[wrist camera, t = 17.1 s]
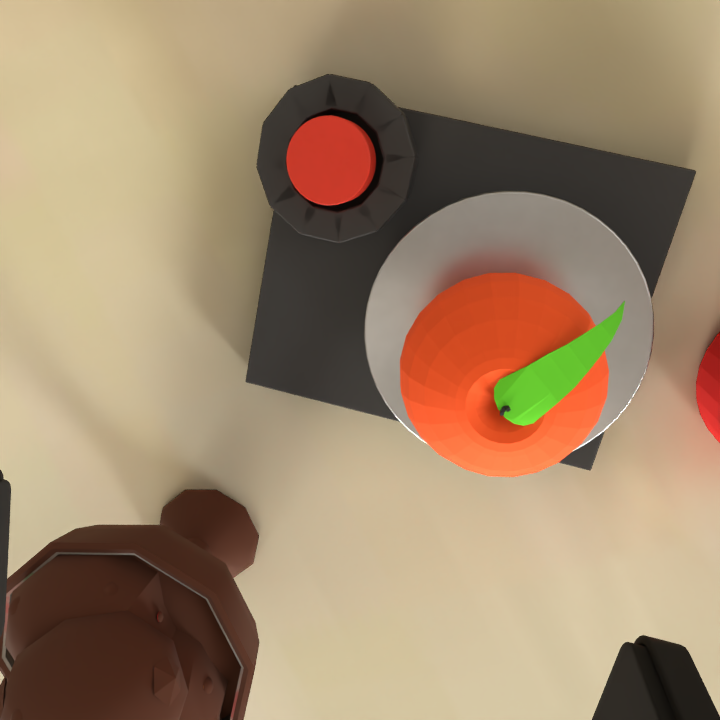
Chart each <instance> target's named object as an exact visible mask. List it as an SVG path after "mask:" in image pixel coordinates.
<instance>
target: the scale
mask: <svg viewBox="0 0 720 720" xmlns="http://www.w3.org/2000/svg"><path fill="white" fill-rule="evenodd" d="M325 115H331V116H337V117H341V118H344V119H346V120H349V121H351V122H353V123H355V124H357V125H358V126H360V127H361V128H362V129H363V130H364V131H365V132H366V133H367V135H368V136H369V138H370V139H371V141H372V143H373V146H374V149H375V153H376V169H375V173H374V176H373V179H372V181H371V183H370V185H369V186H368V188H367V189H366V190H365V191H364V192H363V193H362V194H361V195H360V196H358V197H357V198H355V199H353V200H351V201H348V202H345V203H342V204H338V205H320V204H317V203H314V202H312V201H310V200H308V199H307V198H305V197H304V196H303V195H301V194H300V193H299V191H298V190H297V189H296V188H295V186H294V185H293V183H292V181H291V179H290V177H289V174H288V170H287V162H286V157H287V150H288V146H289V143H290V141H291V139H292V137H293V135H294V134H295V132H296V131H297V130H298V129H299V128H300V127H301V126H302V125H303V124H304V123H306V122H307V121H309V120H311V119H313V118H316V117H319V116H325ZM263 123H264V124H263V126H262V133H261V139H260V146H259V152H258V159H257V170H258V173H259V176H260V179H261V181H262V184H263V187H264V190H265V193H266V196H267V199H268V202H269V205H270V206H271V208H272V209H273V210H274V211H273V218H272V224H271V230H270V236H269V242H268V248H267V254H266V260H265V266H264V272H263V278H262V285H261V291H260V297H259V303H258V309H257V315H256V321H255V327H254V333H253V339H252V345H251V352H250V358H249V364H248V370H247V376H246V382H247V383H251V384H255V385H259V386H263V387H267V388H270V389H274V390H278V391H282V392H286V393H290V394H294V395H298V396H302V397H306V398H309V399H313V400H317V401H321V402H325V403H329V404H333V405H337V406H341V407H344V408H348V409H352V410H356V411H360V412H364V413H368V414H372V415H376V416H379V417H383V418H387V419H391V420H395V421H399V420H398V419H397V418H396V417H395V415H394V414H393V413H392V411H391V410H390V409H389V407H388V406H387V405H386V403H385V401H384V400H383V398H382V396H381V394H380V393H379V391H378V389H377V387H376V384H375V382H374V379H373V377H372V374H371V372H370V368H369V364H368V360H367V356H366V348H365V340H364V328H365V315H366V308H367V303H368V299H369V296H370V292H371V289H372V286H373V283H374V281H375V279H376V277H377V274H378V272H379V270H380V268H381V267H382V265H383V263H384V262H385V260H386V258H387V257H388V255H389V254H390V252H391V251H392V250H393V249H394V247H395V246H396V245H397V244H398V242H399V241H400V240H401V239H402V238H403V237H404V236H405V235H406V234H407V233H408V232H409V231H410V230H411V229H412V228H413V227H414V226H415V225H416V224H418V223H419V222H420V221H422V220H423V219H425V218H426V217H427V216H429V215H430V214H432V213H433V212H435V211H437V210H439V209H441V208H442V207H444V206H446V205H448V204H450V203H453V202H455V201H458V200H461V199H463V198H466V197H470V196H474V195H478V194H482V193H487V192H496V191H528V192H534V193H541V194H545V195H549V196H552V197H556V198H559V199H562V200H565V201H567V202H569V203H572V204H574V205H576V206H578V207H581V208H583V209H584V210H586V211H587V212H589V213H591V214H592V215H594V216H595V217H597V218H599V219H600V220H601V221H602V222H603V223H605V224H606V225H607V226H608V227H609V228H611V229H612V230H613V231H614V232H615V233H616V234H617V235H618V236H619V238H620V239H621V240H622V241H623V242H624V243H625V244H626V245H627V247H628V248H629V250H630V251H631V253H632V254H633V256H634V257H635V259H636V260H637V262H638V264H639V266H640V268H641V271H642V273H643V275H644V277H645V279H646V282H647V286H648V289H649V292H650V296H651V298H652V295H653V293H654V290H655V287H656V284H657V281H658V278H659V276H660V273H661V270H662V267H663V264H664V261H665V259H666V256H667V253H668V250H669V247H670V244H671V242H672V239H673V236H674V233H675V230H676V227H677V225H678V222H679V219H680V216H681V213H682V210H683V208H684V205H685V202H686V199H687V196H688V193H689V191H690V188H691V185H692V182H693V179H694V176H695V174H696V171H695V170H691V169H686V168H681V167H677V166H672V165H667V164H663V163H658V162H653V161H649V160H644V159H639V158H634V157H630V156H625V155H620V154H616V153H611V152H606V151H602V150H597V149H592V148H588V147H583V146H578V145H574V144H569V143H564V142H559V141H555V140H550V139H545V138H541V137H536V136H531V135H527V134H522V133H517V132H513V131H508V130H503V129H499V128H494V127H489V126H484V125H480V124H475V123H470V122H466V121H461V120H456V119H452V118H447V117H442V116H438V115H433V114H428V113H423V112H419V111H414V110H409V109H405V108H400V107H397V106H396V105H395V104H394V103H393V102H392V101H391V100H390V99H389V98H387V97H386V96H385V95H384V94H383V93H382V92H381V91H380V90H379V89H378V88H377V87H376V86H375V85H373V84H371V83H370V82H366V81H361V80H357V79H352V78H347V77H342V76H338V75H333V74H330V75H329V74H327V75H324V76H321V77H319V78H316V79H314V80H311V81H308V82H306V83H303V84H301V85H298V86H297V85H295V86H294V87H293V88H290V90H288V91H287V92H286V94H285V95H284V96H283V98H282V99H281V100H280V101H279V103H278V104H277V105H276V107H275V108H274V109H273V110H272V112H271V113H270V114H269V116H268V117H267V118H266V120H265V121H264V122H263ZM399 422H400V421H399ZM603 434H604V431H603V432H602V433H601V434H599V435H598V436H597V437H595V438H594V439H593V440H591V441H590V442H588V443H587V444H585V445H583V446H581V447H580V448H578V449H576V450H574V451H572V452H571V453H570V454H568V455H567V456H566V457H565V458H563V459H562V460H561V461H560V462H559V463H562V464H566V465H570V466H574V467H578V468H582V469H586V470H591V468H592V465H593V462H594V460H595V457H596V454H597V451H598V448H599V445H600V443H601V440H602V437H603Z"/></svg>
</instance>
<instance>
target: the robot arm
mask: <svg viewBox="0 0 720 720" xmlns="http://www.w3.org/2000/svg"><path fill="white" fill-rule="evenodd" d="M10 500H11V486H10V483H9V482H8V481H7V480H4V479H3V474H2V472H1V470H0V637H1V635H2V632H3V629H4V625H5V612H6V590H7V567H8V545H9V523H10ZM592 720H720V716H719V714H718V712H717V710H716V708H715V706H714V704H713V702H712V700H711V697H710V695H709V693H708V691H707V689H706V687H705V685H704V683H703V681H702V679H701V677H700V675H699V672H698V670H697V668H696V666H695V664H694V662H693V660H692V658H691V656H690V654H689V652H688V651H687V649H686V648H685V647H684V646H682V645H679V644H675V643H671V642H668V641H664V640H660V639H656V638H652V637H648V636H644V635H643V636H639V637H638V638H637V639H636V641H635V643H634V644H633V643H629V642H626V643H624V644H623V645H622V647H621V649H620V651H619V653H618V656H617V658H616V661H615V663H614V666H613V668H612V671H611V673H610V676H609V678H608V681H607V683H606V686H605V688H604V691H603V693H602V696H601V698H600V701H599V703H598V706H597V708H596V711H595V713H594V716H593V718H592Z"/></svg>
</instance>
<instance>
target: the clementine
mask: <svg viewBox="0 0 720 720" xmlns="http://www.w3.org/2000/svg"><path fill="white" fill-rule="evenodd" d="M624 305H625V301H624V302H623V303H622V304H621V305H620V307H619V308H618V309H617V310H616V311H615V312H614V313H613V314H612V315H610V316H609V317H608V318H606V319H605V320H604V321H602V322H601V323H600V324H598V325H597V326H596V325H595V324H594V322H593V320H592V318H591V316H590V315H589V313H588V312H587V311H586V310H585V309H584V308H583V307H582V306H581V305H580V304H579V303H578V302H577V301H576V300H575V299H574V298H573V297H572V296H571V295H570V294H569V293H567V292H565V291H563V290H562V289H560V288H558V287H556V286H554V285H553V284H551V283H549V282H547V281H546V280H542V279H538V278H534V277H530V276H527V275H523V274H519V273H487V274H483V275H479V276H475V277H472V278H468V279H464V280H462V281H461V282H459V283H457V284H455V285H454V286H452V287H450V288H448V289H446V290H445V291H443V292H441V293H440V294H438V295H437V296H436V297H435V298H434V299H433V300H432V301H431V302H430V303H429V304H428V305H427V306H426V307H425V308H424V309H423V310H422V311H421V312H420V313H419V315H418V316H417V318H416V320H415V321H414V323H413V325H412V327H411V328H410V330H409V332H408V333H407V335H406V338H405V342H404V346H403V350H402V354H401V357H400V388H401V394H402V398H403V401H404V404H405V408H406V411H407V415H408V417H409V419H410V420H411V422H412V424H413V425H414V427H415V428H416V430H417V432H418V433H419V435H420V437H421V438H422V439H423V440H424V441H425V442H426V443H427V444H428V445H430V446H431V447H432V448H433V449H434V450H435V451H436V452H437V453H438V454H439V455H441V456H442V457H444V458H446V459H448V460H449V461H451V462H453V463H455V464H457V465H458V466H460V467H462V468H464V469H466V470H469V471H473V472H476V473H480V474H483V475H487V476H502V477H515V476H520V475H525V474H530V473H536V472H539V471H541V470H543V469H545V468H547V467H549V466H551V465H554V464H556V463H558V462H560V461H561V460H562V459H563V458H565V457H566V456H567V455H568V454H570V453H571V452H572V451H573V450H575V449H576V448H577V447H578V446H579V445H580V444H582V443H583V441H584V440H585V439H586V437H587V436H588V434H589V433H590V432H591V430H592V429H593V428H594V426H595V425H596V423H597V422H598V420H599V417H600V415H601V412H602V409H603V407H604V404H605V401H606V399H607V392H608V378H609V368H608V363H607V359H606V354H605V349H606V348H607V346H608V345H609V344H610V342H611V341H612V339H613V337H614V335H615V333H616V331H617V329H618V327H619V325H620V323H621V321H622V317H623V311H624Z"/></svg>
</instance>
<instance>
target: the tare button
mask: <svg viewBox="0 0 720 720" xmlns="http://www.w3.org/2000/svg"><path fill="white" fill-rule="evenodd" d="M286 162H287V170H288V174H289V177H290V179H291V181H292V183H293V185H294V186H295V188H296V189H297V190H298V191H299V193H300V194H301V195H303V196H304V197H305V198H307V199H308V200H310V201H312V202H314V203H317V204H320V205H338V204H342V203H345V202H348V201H351V200H353V199H355V198H357V197H358V196H360V195H361V194H362V193H363V192H364V191H365V190H366V189H367V188H368V186H369V185H370V183H371V181H372V179H373V176H374V173H375V169H376V153H375V149H374V146H373V143H372V141H371V139H370V138H369V136H368V135H367V133H366V132H365V131H364V130H363V129H362V128H361V127H360V126H358V125H357V124H355V123H353V122H351V121H349V120H346V119H344V118H341V117H337V116H331V115H325V116H319V117H316V118H313V119H311V120H309V121H307V122H306V123H304V124H303V125H302V126H301V127H300V128H299V129H298V130H297V131H296V132H295V134H294V135H293V137H292V139H291V141H290V143H289V146H288V150H287V157H286Z"/></svg>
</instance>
